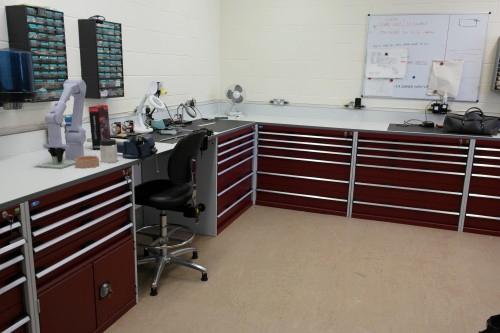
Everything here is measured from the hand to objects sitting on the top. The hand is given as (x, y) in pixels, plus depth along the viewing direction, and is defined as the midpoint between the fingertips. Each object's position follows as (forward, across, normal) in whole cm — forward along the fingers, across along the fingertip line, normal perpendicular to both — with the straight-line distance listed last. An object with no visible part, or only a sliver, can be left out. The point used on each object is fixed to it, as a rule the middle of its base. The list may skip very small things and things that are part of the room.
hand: (57, 161), depth 218 cm
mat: (+2, 0, 0) cm, 2 cm away
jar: (+2, +20, +16) cm, 26 cm away
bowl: (+2, +16, +2) cm, 16 cm away
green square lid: (+1, 0, 0) cm, 1 cm away
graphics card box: (+2, -8, +52) cm, 53 cm away
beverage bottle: (+2, -25, +46) cm, 52 cm away
